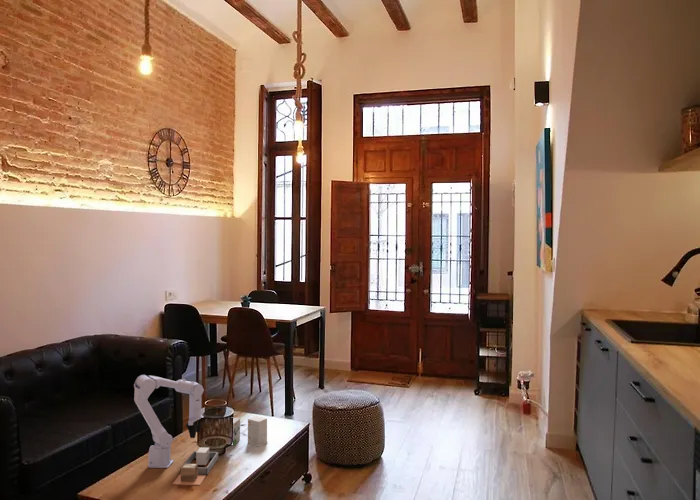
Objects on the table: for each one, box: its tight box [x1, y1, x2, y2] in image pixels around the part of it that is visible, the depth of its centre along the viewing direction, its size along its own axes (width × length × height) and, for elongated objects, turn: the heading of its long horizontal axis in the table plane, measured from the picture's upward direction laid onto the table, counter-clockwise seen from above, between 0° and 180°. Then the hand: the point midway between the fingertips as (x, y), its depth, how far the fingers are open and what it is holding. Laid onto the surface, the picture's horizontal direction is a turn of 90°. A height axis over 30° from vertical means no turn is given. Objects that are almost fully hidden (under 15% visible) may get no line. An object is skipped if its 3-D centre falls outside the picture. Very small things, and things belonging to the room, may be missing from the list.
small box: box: [247, 415, 268, 447], centre depth 284 cm, size 8×6×13 cm
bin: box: [180, 450, 219, 476], centre depth 256 cm, size 12×18×3 cm
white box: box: [195, 447, 210, 466], centre depth 260 cm, size 4×6×6 cm
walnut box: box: [180, 463, 199, 482], centre depth 241 cm, size 4×6×6 cm
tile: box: [172, 473, 207, 486], centre depth 241 cm, size 12×9×1 cm
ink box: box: [232, 417, 241, 447], centre depth 284 cm, size 9×5×12 cm, turn 168°
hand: (195, 434), depth 267 cm, fingers open, 7 cm apart
